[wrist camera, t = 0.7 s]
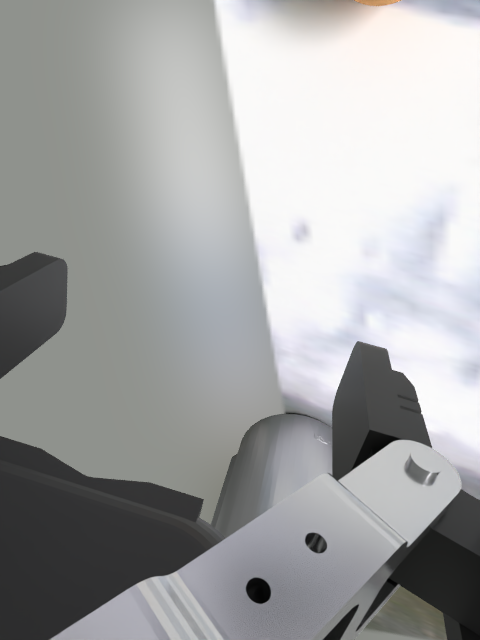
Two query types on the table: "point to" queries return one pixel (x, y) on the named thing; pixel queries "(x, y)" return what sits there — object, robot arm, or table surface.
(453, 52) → the table surface
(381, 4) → the ball
